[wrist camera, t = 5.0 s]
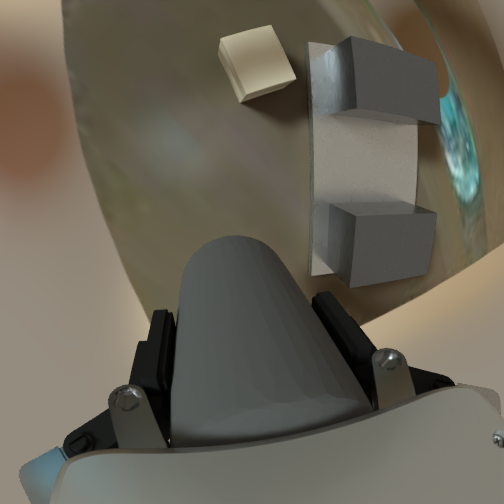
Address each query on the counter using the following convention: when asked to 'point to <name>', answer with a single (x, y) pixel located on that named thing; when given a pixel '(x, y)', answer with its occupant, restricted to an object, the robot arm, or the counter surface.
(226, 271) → the bottle
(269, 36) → the loose block
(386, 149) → the board
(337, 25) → the counter surface
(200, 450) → the robot arm
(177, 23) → the counter surface
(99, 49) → the counter surface
